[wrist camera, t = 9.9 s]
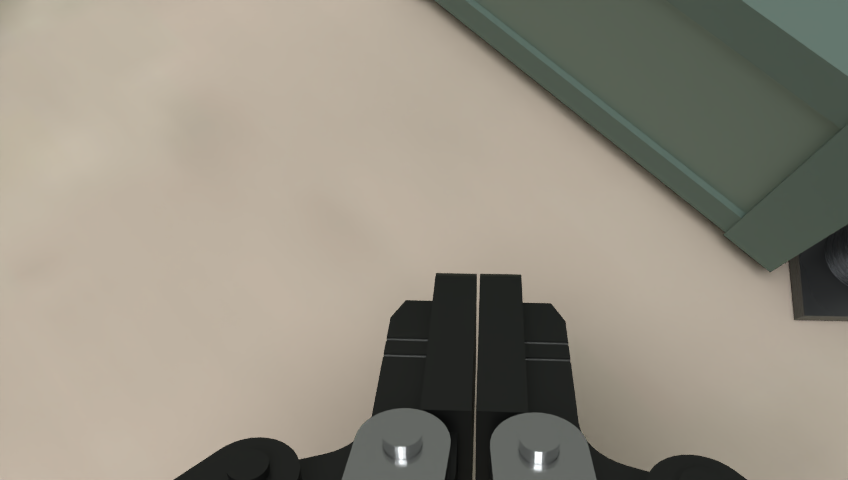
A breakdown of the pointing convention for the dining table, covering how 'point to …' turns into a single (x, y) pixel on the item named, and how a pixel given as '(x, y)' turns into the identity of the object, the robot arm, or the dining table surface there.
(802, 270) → the post
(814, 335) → the dining table surface
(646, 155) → the green rectangular panel
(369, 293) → the dining table surface
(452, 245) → the dining table surface
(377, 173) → the dining table surface
